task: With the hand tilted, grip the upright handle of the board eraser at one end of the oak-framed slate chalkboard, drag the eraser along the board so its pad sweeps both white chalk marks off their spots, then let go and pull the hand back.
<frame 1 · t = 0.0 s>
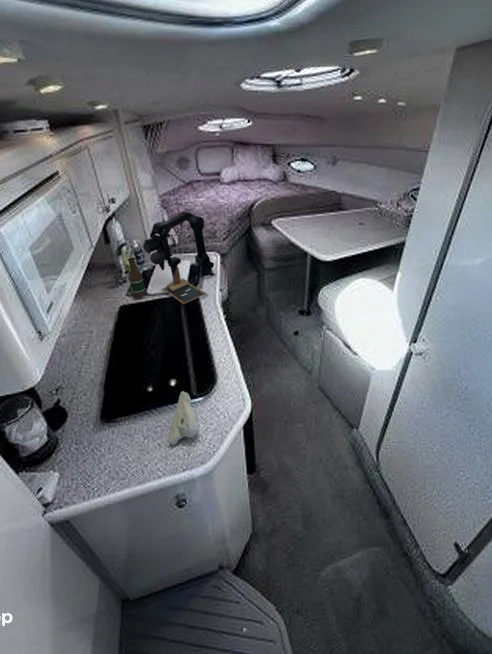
hand: (168, 272, 186), 15 cm above the worktop, tool pointing down, fingers open, 9 cm apart
chalk mark 1: (187, 290, 194), point 1 cm above the worktop, touching chalkboard
cheese: (183, 424, 116), on the worktop
chalk mark 2: (184, 295, 189), point 1 cm above the worktop, touching chalkboard
chalkboard: (184, 292, 194), on the worktop
eraser: (178, 287, 198), point 1 cm above the worktop, touching chalkboard
beer bottle: (140, 296, 194), on the worktop
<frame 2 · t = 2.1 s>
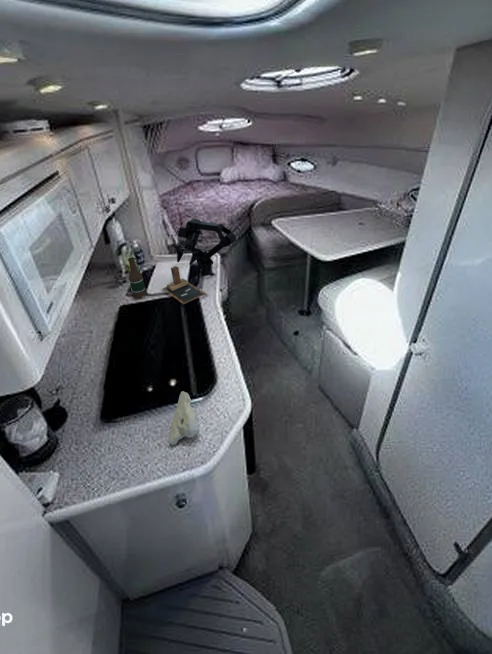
hand: (183, 263, 198), 13 cm above the worktop, tool tilted 45°, fingers open, 9 cm apart
nothing on the worktop moved.
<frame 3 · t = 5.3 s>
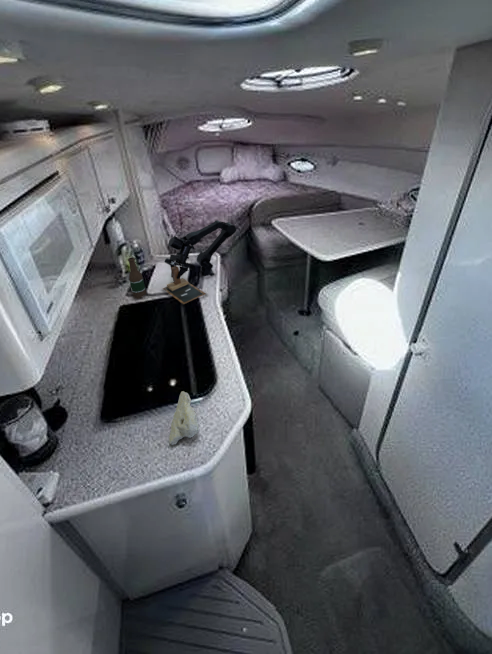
hand: (174, 278, 193), 8 cm above the worktop, tool tilted 45°, fingers closed on eraser, 4 cm apart
eraser: (178, 287, 198), point 1 cm above the worktop, touching chalkboard, gripper
everything else where it was.
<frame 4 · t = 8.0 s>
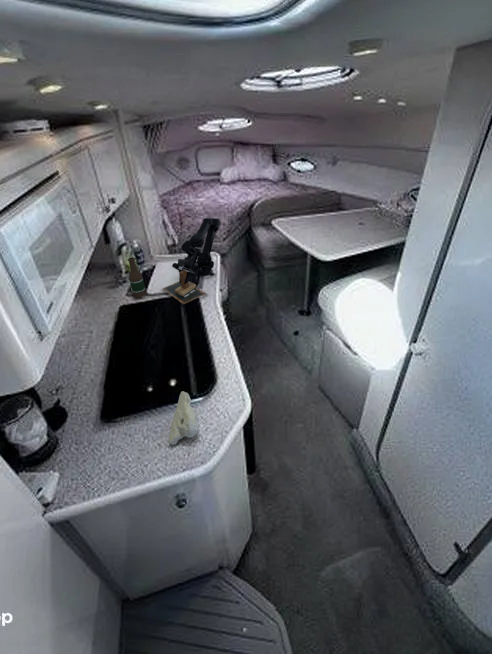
hand: (182, 283, 187), 8 cm above the worktop, tool tilted 45°, fingers closed on eraser, 3 cm apart
chalk mark 1: (192, 291, 192), point 1 cm above the worktop, touching chalkboard
chalk mark 2: (186, 295, 189), point 1 cm above the worktop
eraser: (185, 291, 192), point 2 cm above the worktop, tilted 5°, touching gripper
everything else where it was.
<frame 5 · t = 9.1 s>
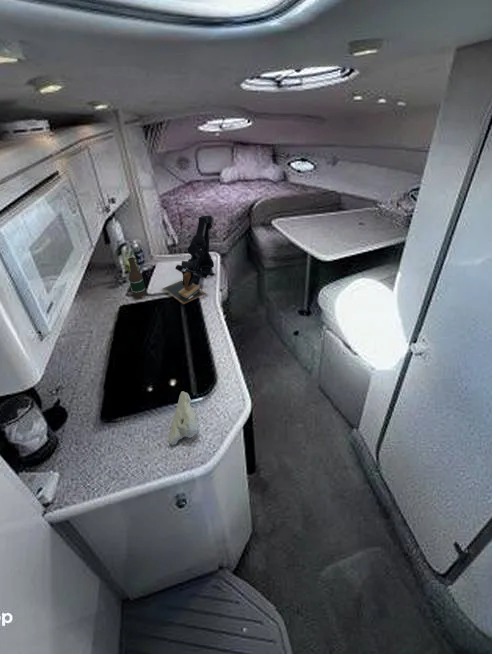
hand: (185, 285, 185), 8 cm above the worktop, tool tilted 45°, fingers closed on eraser, 3 cm apart
chalk mark 1: (195, 292, 191), point 1 cm above the worktop, touching chalkboard
chalk mark 2: (190, 297, 187), point 1 cm above the worktop, touching chalkboard, eraser
eraser: (189, 292, 190), point 2 cm above the worktop, tilted 8°, touching chalk mark 2, chalkboard, gripper
everything else where it was.
when the fingers open (8 cm above the worktop, at t = 9.6 s): eraser stays where it is, resting on chalkboard.
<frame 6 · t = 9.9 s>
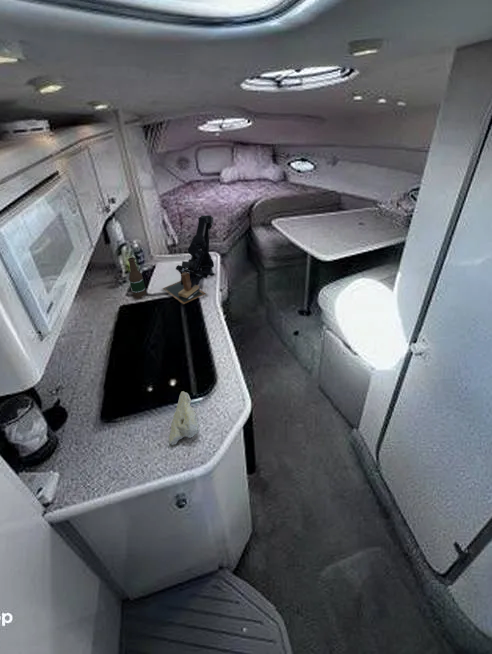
hand: (186, 286, 185), 8 cm above the worktop, tool tilted 45°, fingers open, 6 cm apart
chalk mark 2: (190, 297, 187), point 1 cm above the worktop, touching chalkboard
eraser: (189, 293, 190), point 2 cm above the worktop, touching chalkboard, gripper
everything else where it was.
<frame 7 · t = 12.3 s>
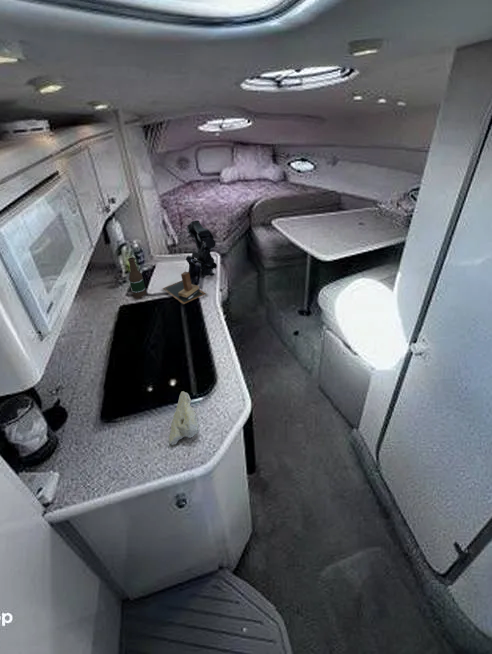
hand: (196, 276, 191), 10 cm above the worktop, tool tilted 45°, fingers open, 9 cm apart
chalk mark 1: (195, 292, 191), point 1 cm above the worktop, touching chalkboard, eraser
eraser: (189, 293, 190), point 1 cm above the worktop, touching chalk mark 1, chalkboard
everything else where it was.
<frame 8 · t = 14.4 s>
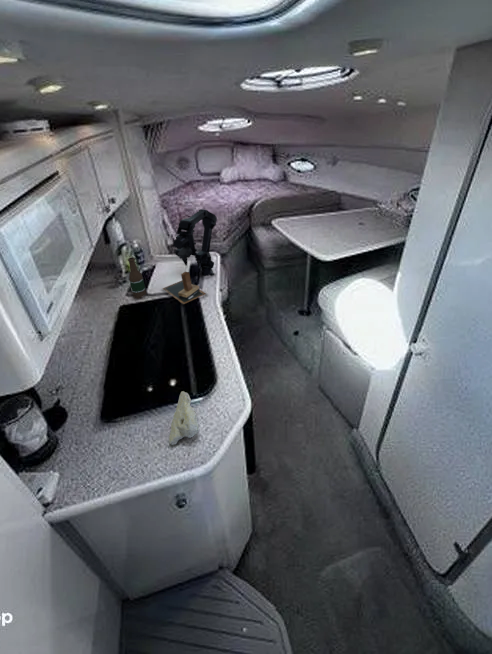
hand: (192, 266, 194), 13 cm above the worktop, tool pointing down, fingers open, 9 cm apart
nothing on the worktop moved.
at the end: chalk mark 1 moved 5.7 cm from its start; chalk mark 2 moved 5.2 cm from its start; eraser 1.7 cm from the target spot on the chalkboard, point 1.4 cm above the chalkboard's base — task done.
